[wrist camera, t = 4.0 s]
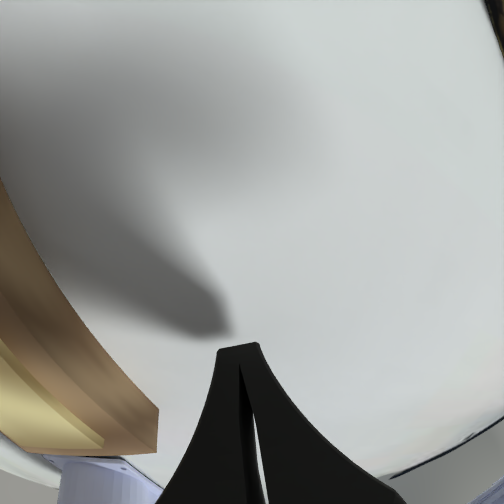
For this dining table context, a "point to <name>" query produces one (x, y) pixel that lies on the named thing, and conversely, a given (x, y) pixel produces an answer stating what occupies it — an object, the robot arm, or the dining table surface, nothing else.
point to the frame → (59, 366)
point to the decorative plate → (497, 19)
